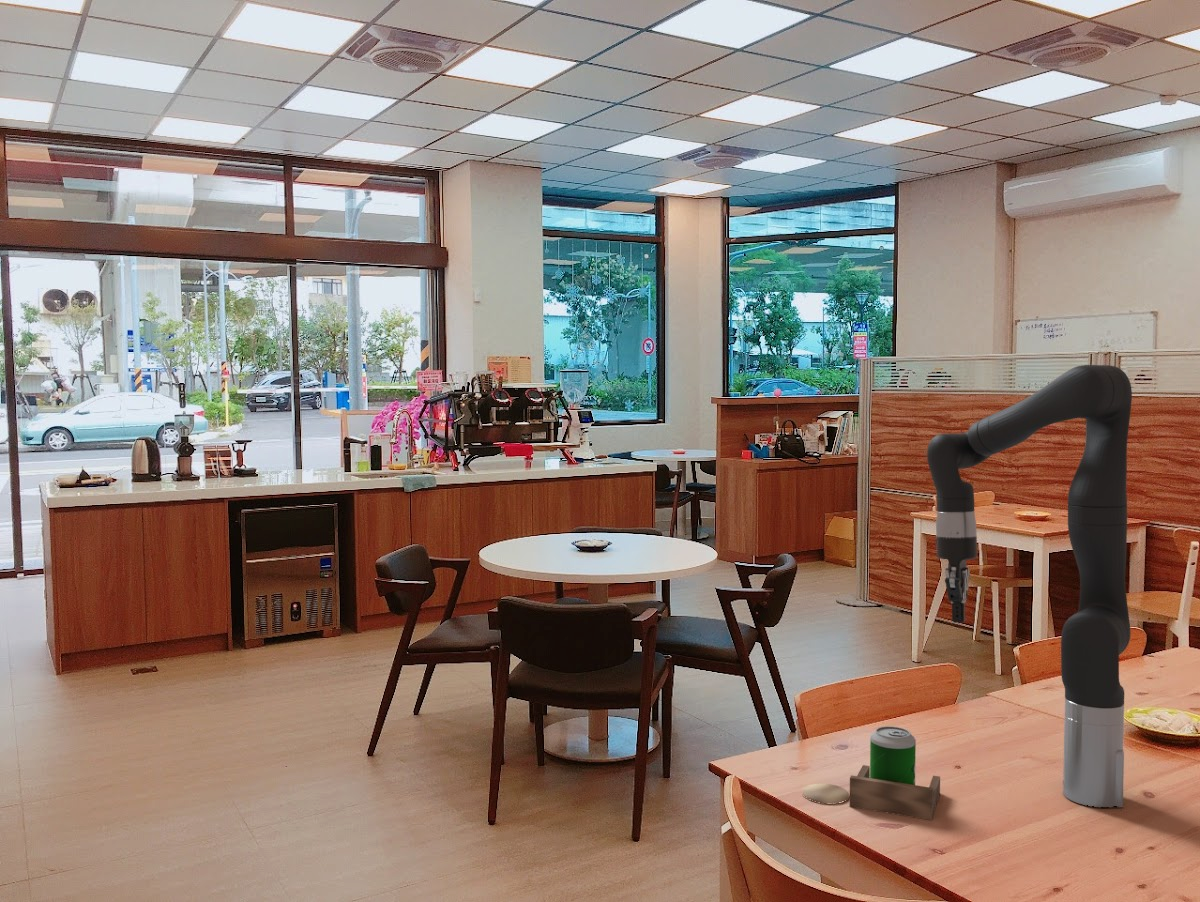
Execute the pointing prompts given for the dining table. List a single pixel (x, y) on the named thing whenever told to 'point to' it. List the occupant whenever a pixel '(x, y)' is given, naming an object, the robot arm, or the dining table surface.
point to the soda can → (892, 755)
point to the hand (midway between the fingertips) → (958, 621)
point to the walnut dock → (894, 795)
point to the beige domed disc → (825, 793)
